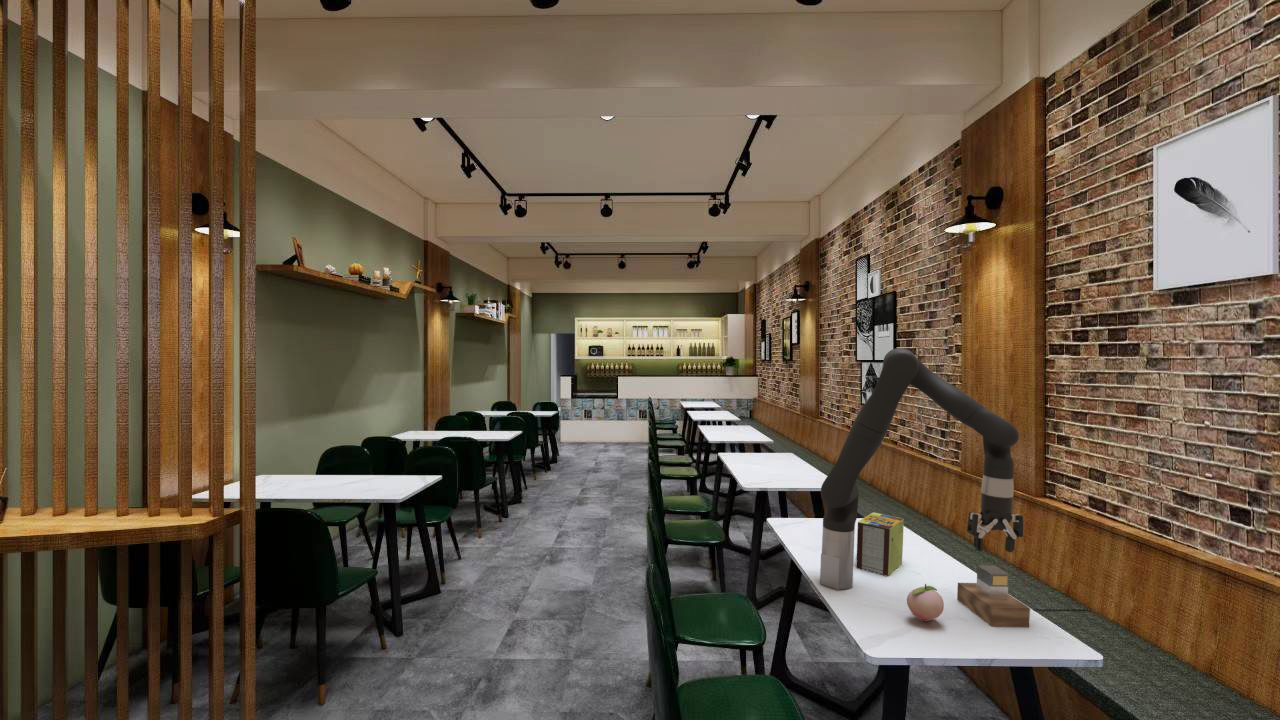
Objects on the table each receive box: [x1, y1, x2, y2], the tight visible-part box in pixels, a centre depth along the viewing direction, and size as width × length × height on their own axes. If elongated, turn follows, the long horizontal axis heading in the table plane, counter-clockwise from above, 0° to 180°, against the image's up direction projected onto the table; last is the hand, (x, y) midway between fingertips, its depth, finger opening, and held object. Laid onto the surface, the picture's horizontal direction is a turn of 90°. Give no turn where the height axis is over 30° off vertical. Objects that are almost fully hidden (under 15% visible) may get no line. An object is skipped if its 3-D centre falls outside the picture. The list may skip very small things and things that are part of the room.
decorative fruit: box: [906, 583, 945, 622], centre depth 155 cm, size 9×8×10 cm
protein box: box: [855, 512, 905, 577], centre depth 194 cm, size 10×15×16 cm
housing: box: [976, 564, 1010, 600], centre depth 161 cm, size 5×6×7 cm
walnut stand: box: [956, 582, 1031, 628], centre depth 162 cm, size 16×10×5 cm, turn 1°
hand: (993, 551), depth 161 cm, fingers open, 8 cm apart
